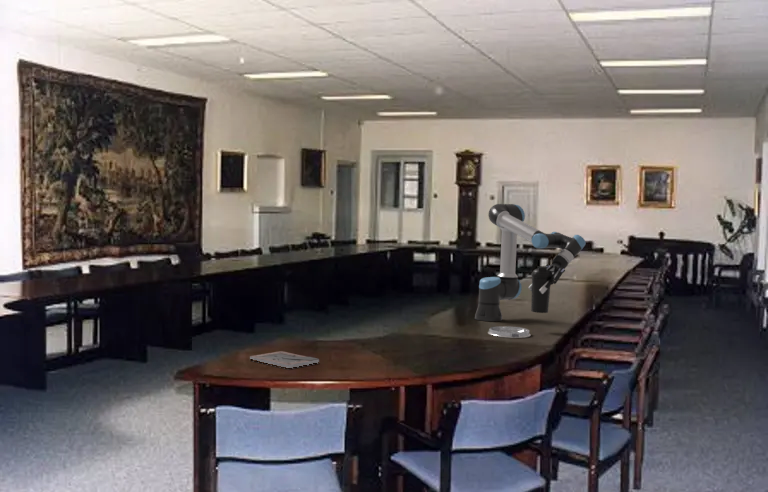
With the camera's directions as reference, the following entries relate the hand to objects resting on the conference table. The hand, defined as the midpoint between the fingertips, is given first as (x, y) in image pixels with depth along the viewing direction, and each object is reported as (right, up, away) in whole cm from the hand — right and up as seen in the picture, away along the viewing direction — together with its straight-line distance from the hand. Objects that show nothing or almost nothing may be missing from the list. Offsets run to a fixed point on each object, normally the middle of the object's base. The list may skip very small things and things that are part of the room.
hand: (535, 290), depth 403 cm
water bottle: (+3, -11, +2) cm, 11 cm away
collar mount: (-15, -21, -10) cm, 28 cm away
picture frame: (-116, -23, -93) cm, 151 cm away
